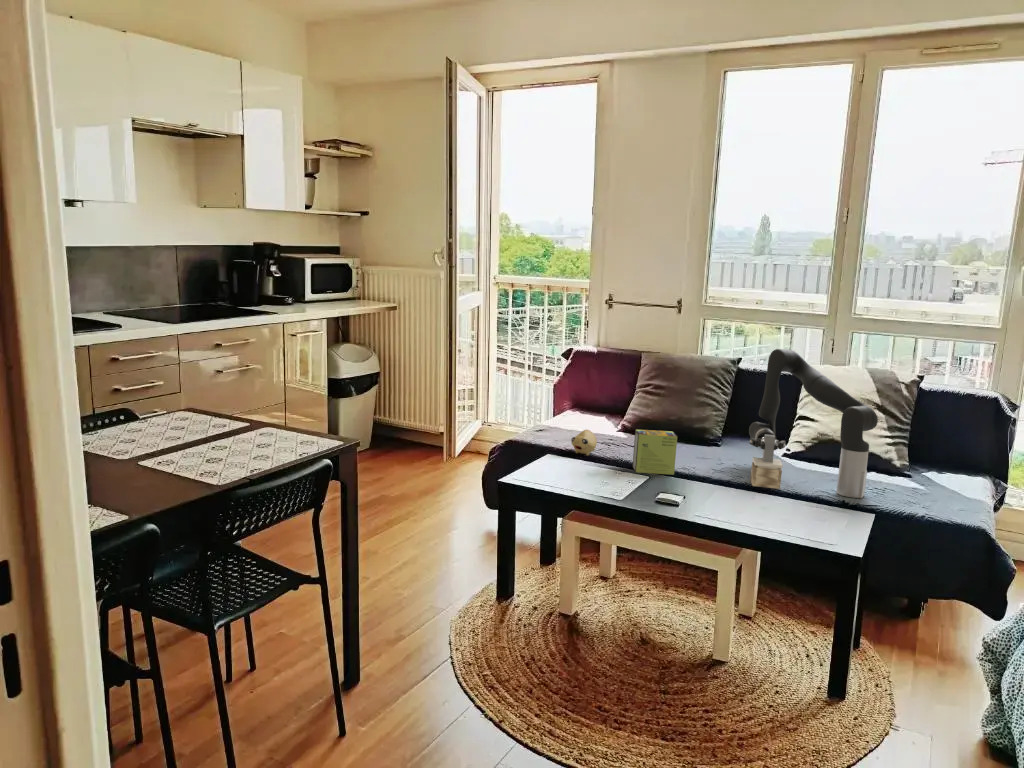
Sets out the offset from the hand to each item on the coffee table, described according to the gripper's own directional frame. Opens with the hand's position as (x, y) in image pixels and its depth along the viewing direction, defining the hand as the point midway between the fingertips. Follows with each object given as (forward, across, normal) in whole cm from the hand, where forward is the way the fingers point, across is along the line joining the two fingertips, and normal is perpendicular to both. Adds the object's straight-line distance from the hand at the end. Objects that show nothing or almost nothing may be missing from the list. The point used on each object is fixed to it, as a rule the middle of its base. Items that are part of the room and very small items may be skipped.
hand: (769, 447), depth 290 cm
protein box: (-6, -43, +15) cm, 46 cm away
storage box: (-3, 0, +15) cm, 15 cm away
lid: (-3, 0, +8) cm, 9 cm away
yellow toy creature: (-22, -73, +15) cm, 78 cm away
